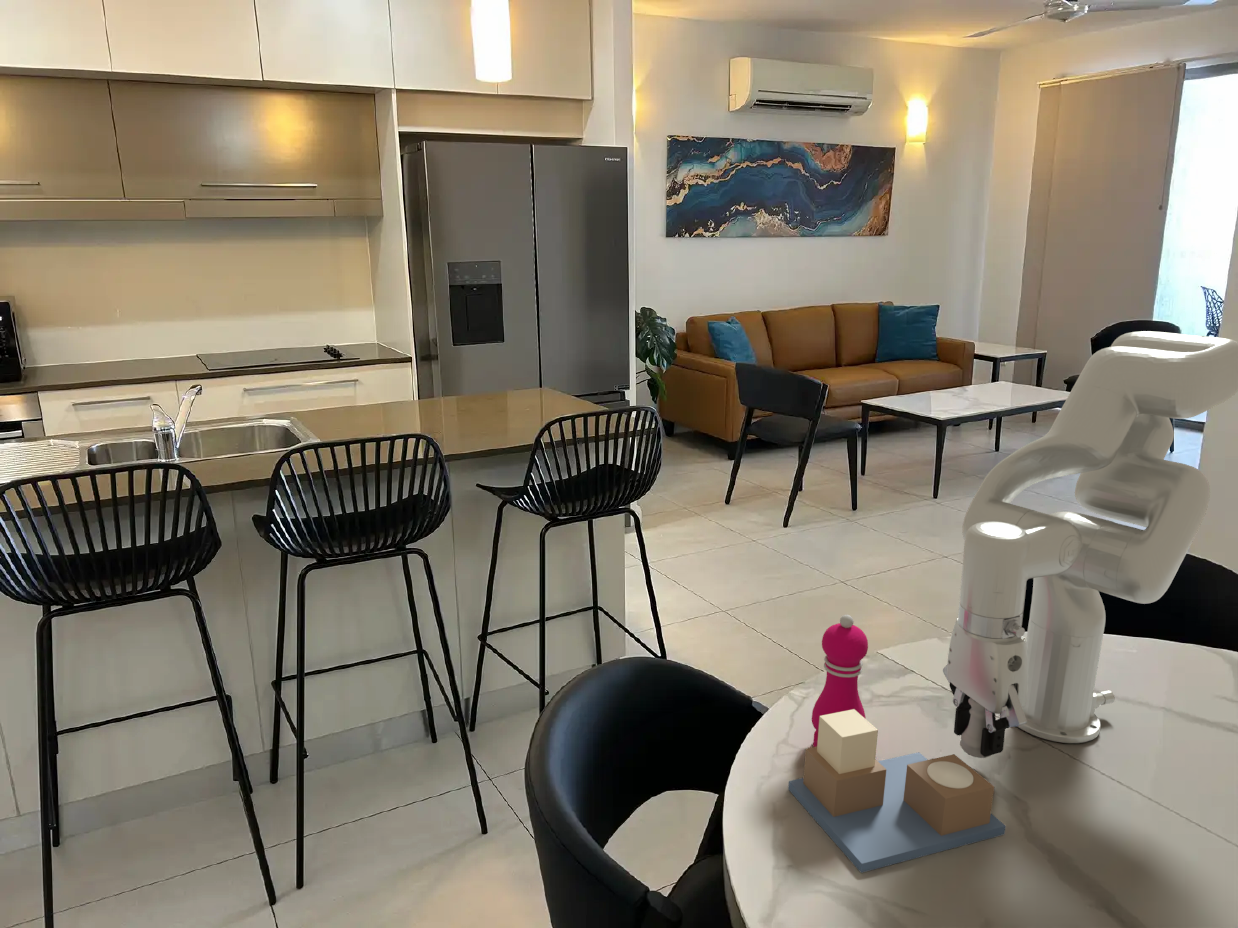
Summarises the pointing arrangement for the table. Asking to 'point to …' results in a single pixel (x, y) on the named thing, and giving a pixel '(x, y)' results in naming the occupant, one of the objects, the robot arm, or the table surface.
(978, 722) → the rook chess piece
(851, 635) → the pepper mill
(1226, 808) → the table surface
